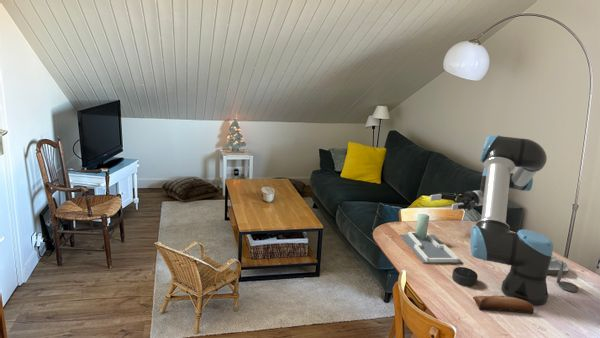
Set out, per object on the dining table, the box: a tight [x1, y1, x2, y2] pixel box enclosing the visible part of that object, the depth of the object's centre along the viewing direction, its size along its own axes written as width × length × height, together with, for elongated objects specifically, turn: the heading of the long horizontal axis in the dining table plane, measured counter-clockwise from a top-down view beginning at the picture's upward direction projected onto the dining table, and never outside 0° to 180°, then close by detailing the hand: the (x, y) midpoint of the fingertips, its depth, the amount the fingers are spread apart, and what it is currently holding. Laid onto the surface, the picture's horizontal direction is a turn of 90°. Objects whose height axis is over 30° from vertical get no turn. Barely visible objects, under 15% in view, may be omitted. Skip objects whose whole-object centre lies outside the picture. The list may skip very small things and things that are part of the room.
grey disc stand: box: [555, 260, 580, 293], centre depth 166 cm, size 8×8×10 cm
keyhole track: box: [399, 231, 463, 265], centre depth 193 cm, size 28×17×2 cm, turn 8°
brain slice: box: [547, 255, 570, 276], centre depth 184 cm, size 20×17×3 cm
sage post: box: [415, 213, 430, 240], centre depth 201 cm, size 5×5×11 cm
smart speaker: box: [451, 266, 478, 287], centre depth 166 cm, size 9×9×4 cm
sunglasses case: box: [472, 294, 535, 314], centre depth 151 cm, size 18×7×7 cm
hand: (441, 202), depth 203 cm, fingers open, 13 cm apart
